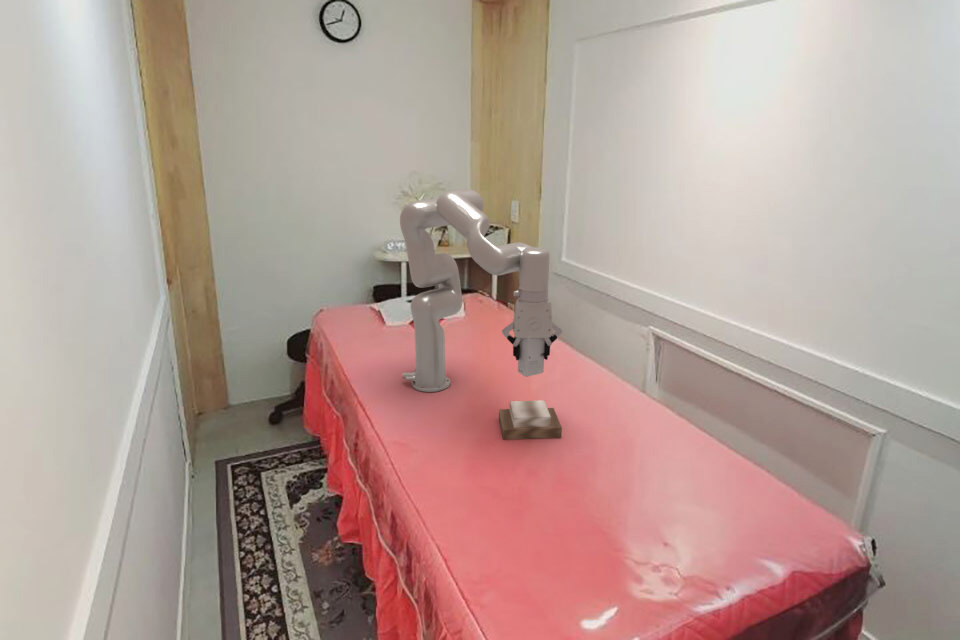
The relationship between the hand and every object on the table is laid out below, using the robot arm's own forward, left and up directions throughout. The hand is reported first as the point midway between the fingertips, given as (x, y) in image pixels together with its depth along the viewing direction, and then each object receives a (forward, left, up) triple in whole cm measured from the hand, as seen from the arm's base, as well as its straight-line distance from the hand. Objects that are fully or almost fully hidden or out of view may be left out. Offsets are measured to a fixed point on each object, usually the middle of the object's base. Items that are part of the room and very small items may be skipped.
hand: (531, 357), depth 158 cm
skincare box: (0, 0, -4) cm, 4 cm away
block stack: (0, 0, -21) cm, 21 cm away
